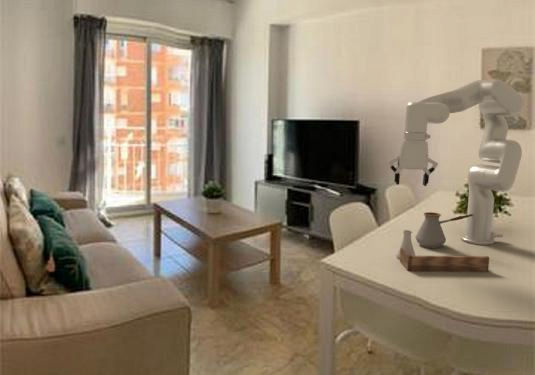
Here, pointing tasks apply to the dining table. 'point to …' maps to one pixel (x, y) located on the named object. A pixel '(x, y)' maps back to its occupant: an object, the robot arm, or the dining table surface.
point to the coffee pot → (433, 230)
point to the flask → (406, 243)
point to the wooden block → (444, 262)
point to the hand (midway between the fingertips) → (410, 184)
